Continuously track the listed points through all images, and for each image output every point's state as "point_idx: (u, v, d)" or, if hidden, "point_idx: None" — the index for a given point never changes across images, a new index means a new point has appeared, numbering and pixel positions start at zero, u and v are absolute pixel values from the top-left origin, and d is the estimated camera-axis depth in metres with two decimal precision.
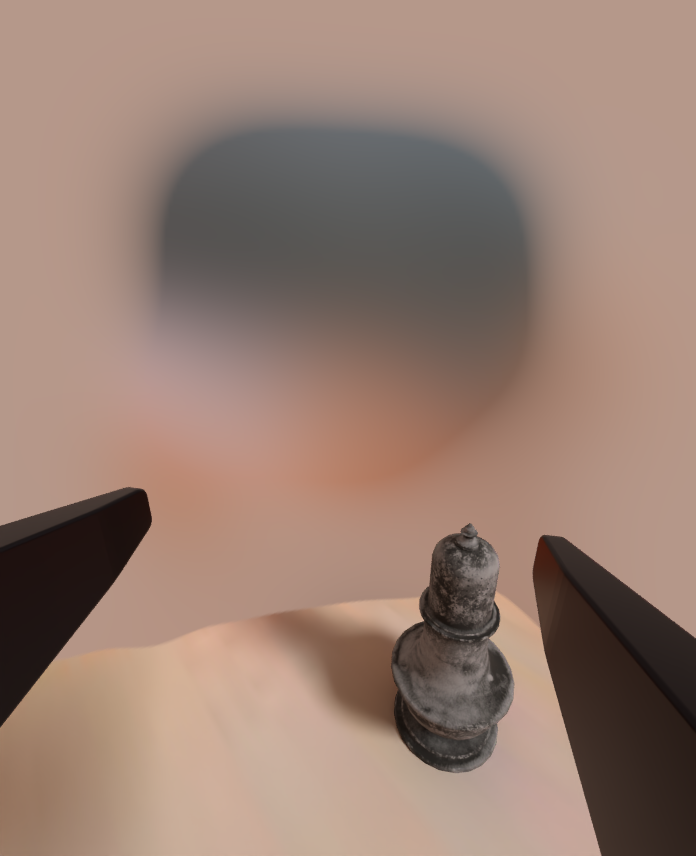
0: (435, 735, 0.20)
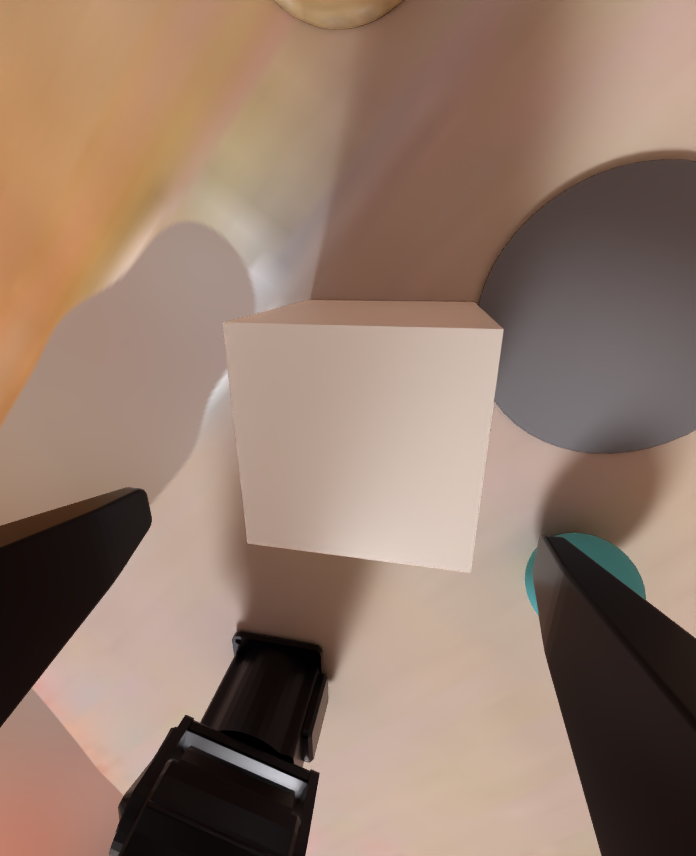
0: None
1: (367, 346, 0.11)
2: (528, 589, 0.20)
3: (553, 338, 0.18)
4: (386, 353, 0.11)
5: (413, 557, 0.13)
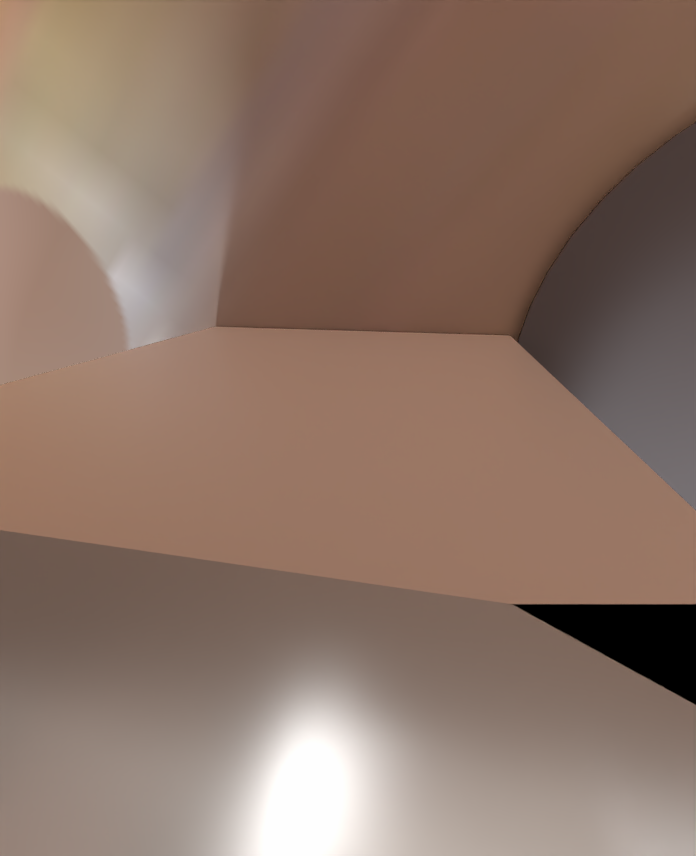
0: None
1: (149, 620, 0.03)
2: None
3: (661, 408, 0.09)
4: (226, 654, 0.03)
5: None
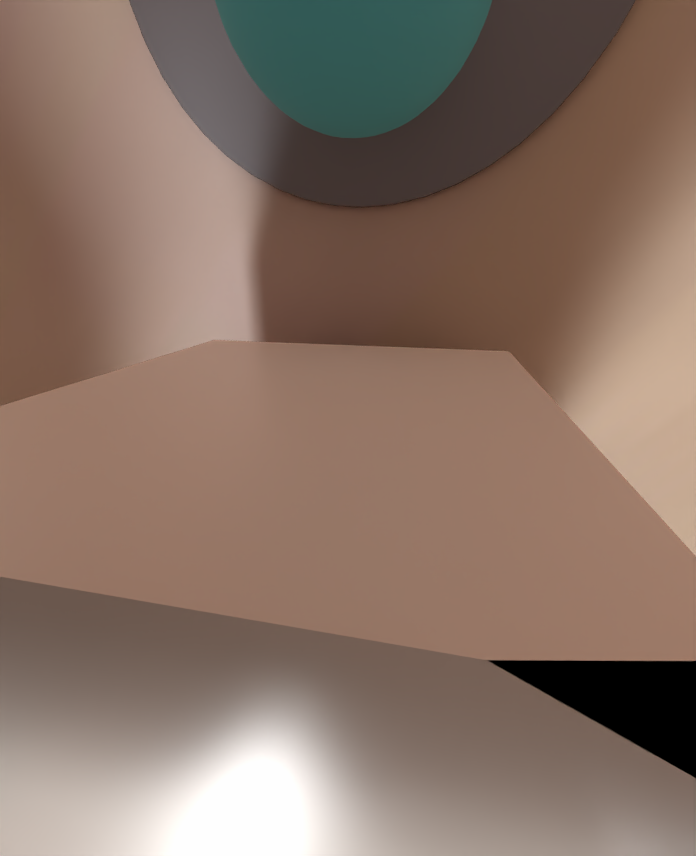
0: None
1: (143, 666, 0.03)
2: None
3: None
4: (222, 700, 0.03)
5: None
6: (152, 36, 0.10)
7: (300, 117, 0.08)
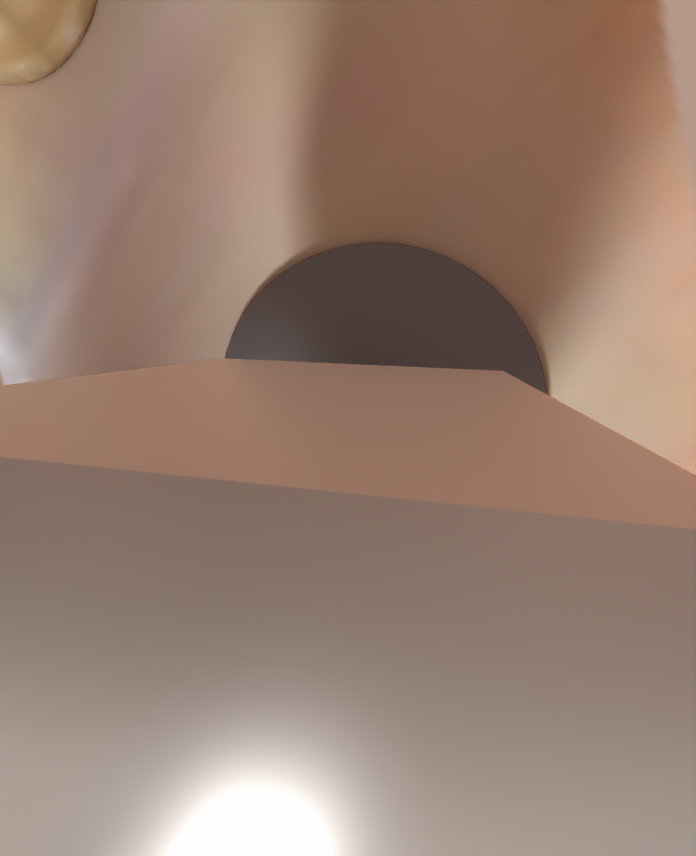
0: None
1: (163, 552, 0.03)
2: None
3: None
4: (235, 586, 0.03)
5: None
6: None
7: None
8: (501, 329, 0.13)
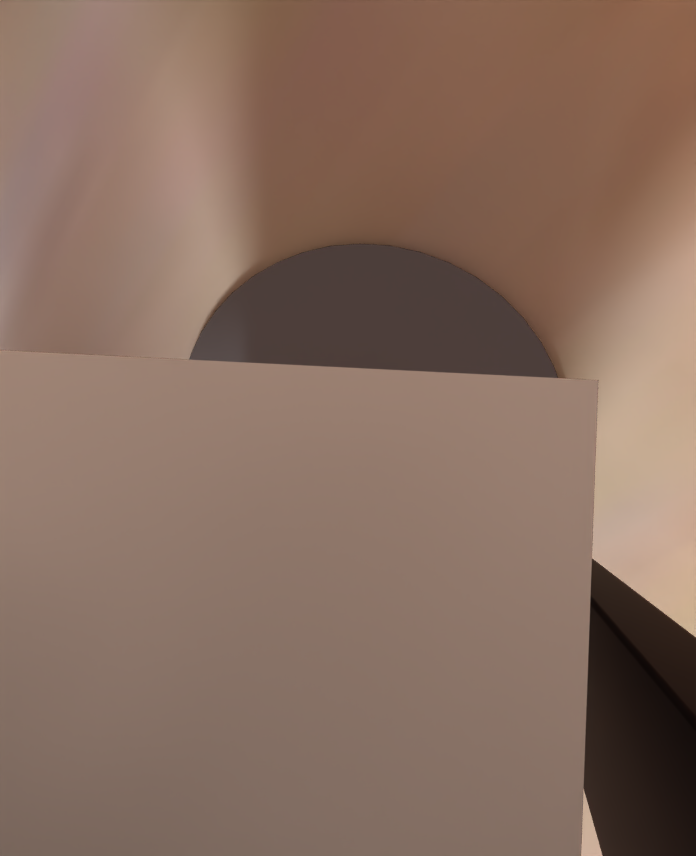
0: None
1: (203, 414, 0.04)
2: None
3: None
4: (247, 436, 0.04)
5: None
6: None
7: None
8: (514, 349, 0.11)
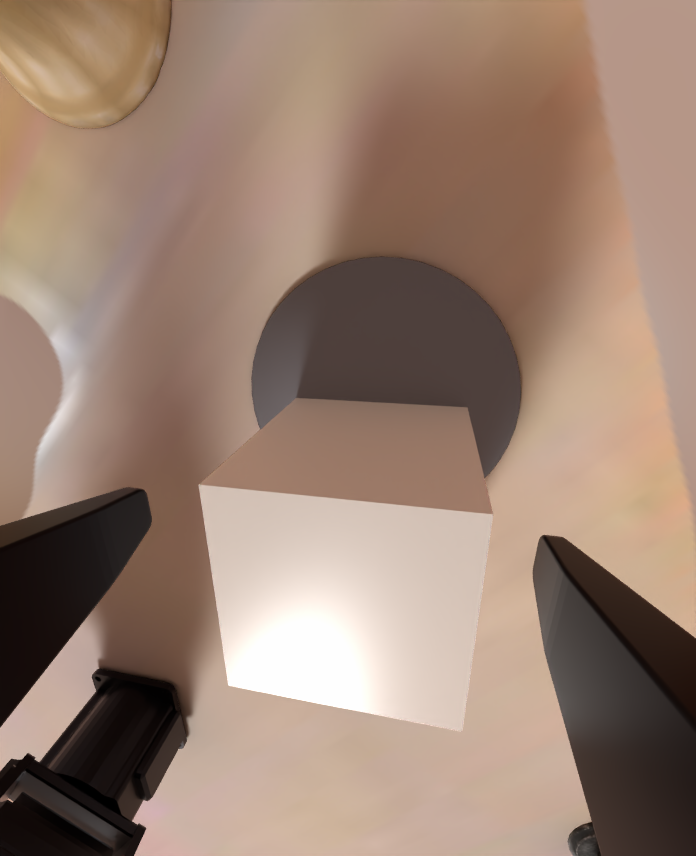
0: (592, 848, 0.26)
1: (350, 518, 0.11)
2: None
3: None
4: (369, 526, 0.11)
5: (401, 712, 0.13)
6: None
7: None
8: (483, 326, 0.16)
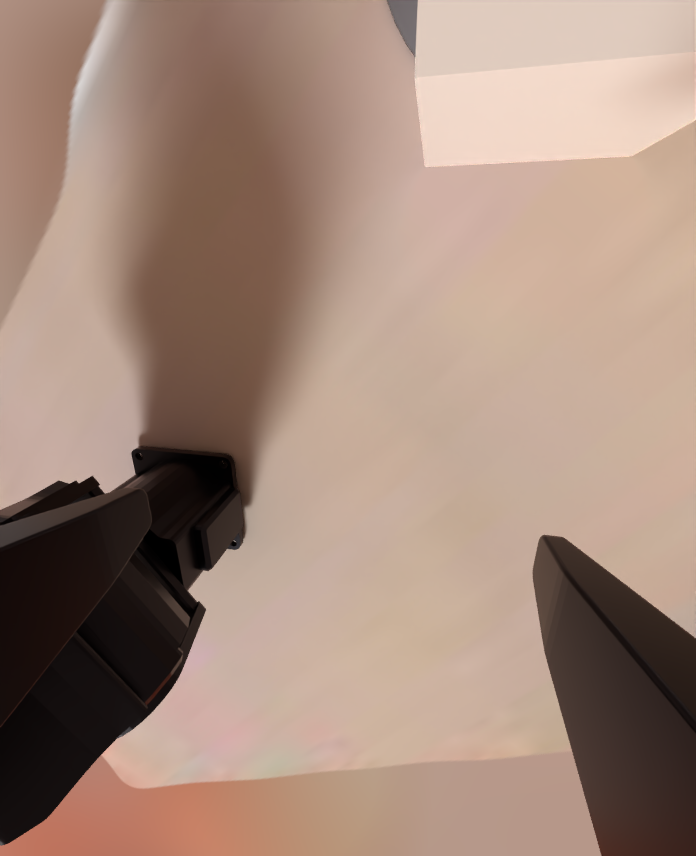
0: None
1: None
2: None
3: None
4: None
5: None
6: None
7: None
8: None
